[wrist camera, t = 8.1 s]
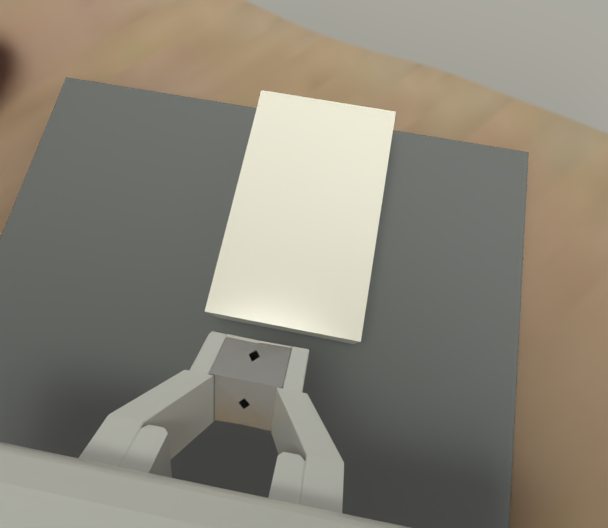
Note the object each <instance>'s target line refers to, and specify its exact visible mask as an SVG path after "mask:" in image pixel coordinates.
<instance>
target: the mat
mask: <svg viewBox="0 0 608 528" xmlns="http://www.w3.org/2000/svg"><path fill="white" fill-rule="evenodd" d="M256 109H257V108H252V107H246V106H240V105H233V104H227V103H221V102H215V101H209V100H203V99H196V98H190V97H184V96H178V95H172V94H166V93H160V92H153V91H147V90H141V89H135V88H129V87H123V86H116V85H110V84H104V83H98V82H92V81H86V80H79V79H73V78H67V77H66V79H65V82H64V84H63V87H62V89H61V91H60V94H59V96H58V99H57V101H56V104H55V106H54V109H53V111H52V113H51V116H50V118H49V121H48V123H47V126H46V128H45V131H44V133H43V135H42V138H41V140H40V143H39V145H38V148H37V150H36V153H35V155H34V157H33V160H32V162H31V165H30V167H29V170H28V172H27V175H26V177H25V179H24V182H23V184H22V187H21V189H20V192H19V194H18V197H17V199H16V201H15V204H14V206H13V209H12V211H11V214H10V216H9V219H8V221H7V223H6V226H5V228H4V231H3V233H2V236H1V238H0V442H3V443H8V444H12V445H17V446H22V447H27V448H31V449H36V450H41V451H46V452H51V453H55V454H60V455H65V456H70V457H75V458H79V457H80V455H81V454H82V452H83V451H84V449H85V448H86V447H87V445H88V444H89V442H90V441H91V439H92V438H93V436H94V435H95V433H96V432H97V431H98V429H99V428H100V426H101V425H102V423H103V422H104V420H105V419H106V417H107V416H108V415H109V414H110V413H112V412H114V411H115V410H117V409H119V408H121V407H122V406H124V405H126V404H127V403H129V402H131V401H132V400H134V399H136V398H137V397H139V396H141V395H143V394H144V393H146V392H148V391H149V390H151V389H153V388H154V387H156V386H158V385H159V384H161V383H163V382H164V381H166V380H168V379H170V378H171V377H173V376H175V375H176V374H178V373H180V372H181V371H183V370H190V368H191V366H192V365H193V363H194V361H195V359H196V357H197V355H198V353H199V351H200V349H201V348H202V346H203V344H204V342H205V340H206V338H207V336H208V334H209V333H210V332H212V331H214V332H219V333H223V334H230V335H234V336H239V337H244V338H249V339H253V340H258V341H264V342H270V343H275V344H281V345H287V346H292V347H299V348H304V349H309V356H308V362H307V368H306V374H305V380H304V386H303V393H307V394H308V396H309V398H310V400H311V401H312V403H313V405H314V407H315V409H316V411H317V413H318V415H319V416H320V418H321V420H322V422H323V424H324V426H325V428H326V430H327V431H328V433H329V435H330V437H331V439H332V441H333V443H334V445H335V447H336V448H337V450H338V452H339V454H340V456H341V458H342V460H343V462H344V480H343V504H342V513H344V514H348V515H353V516H358V517H363V518H368V519H372V520H377V521H382V522H387V523H392V524H396V525H401V526H406V527H411V528H509V517H510V498H511V479H512V460H513V441H514V422H515V402H516V383H517V364H518V345H519V326H520V306H521V287H522V268H523V249H524V230H525V210H526V191H527V172H528V153H529V152H523V151H517V150H511V149H505V148H499V147H492V146H486V145H480V144H474V143H468V142H462V141H455V140H449V139H443V138H437V137H431V136H425V135H418V134H412V133H406V132H400V131H394V130H393V134H392V140H391V147H390V153H389V160H388V167H387V173H386V180H385V186H384V193H383V199H382V206H381V212H380V219H379V226H378V232H377V239H376V245H375V252H374V258H373V265H372V271H371V278H370V285H369V291H368V298H367V304H366V311H365V317H364V324H363V330H362V337H361V342H359V343H356V344H350V343H345V342H340V341H335V340H329V339H324V338H319V337H314V336H309V335H304V334H299V333H294V332H288V331H283V330H278V329H273V328H268V327H263V326H258V325H253V324H247V323H242V322H237V321H232V320H227V319H222V318H217V317H215V316H213V315H211V314H209V313H207V312H205V308H206V304H207V300H208V296H209V292H210V288H211V284H212V281H213V277H214V273H215V269H216V265H217V261H218V257H219V253H220V249H221V246H222V242H223V238H224V234H225V230H226V226H227V222H228V218H229V214H230V211H231V207H232V203H233V199H234V195H235V191H236V187H237V183H238V179H239V176H240V172H241V168H242V164H243V160H244V156H245V152H246V148H247V144H248V141H249V137H250V133H251V129H252V125H253V121H254V117H255V113H256ZM277 457H278V452H277V449H276V446H275V443H274V440H273V437H272V433H271V431H268V430H264V429H260V428H255V427H251V426H246V425H242V424H236V423H230V422H224V421H218V420H214V422H212V423H211V424H210V425H209V426H208V427H207V428H206V429H205V430H204V431H202V432H201V433H200V434H199V435H198V436H197V437H196V438H195V439H193V440H192V441H191V442H190V443H189V444H188V445H187V446H186V447H184V448H183V449H182V450H181V451H180V452H179V453H178V454H177V455H175V456H174V457H173V458H172V459H171V460H170V461H171V472H172V478H175V479H180V480H185V481H190V482H194V483H199V484H204V485H209V486H214V487H218V488H223V489H228V490H233V491H238V492H242V493H247V494H252V495H257V496H262V497H267V498H268V497H269V493H270V488H271V484H272V479H273V475H274V470H275V466H276V461H277Z"/></svg>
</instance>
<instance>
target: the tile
mask: <svg viewBox="0 0 608 528" xmlns="http://www.w3.org/2000/svg"><path fill="white" fill-rule="evenodd" d="M395 114H396V112H394V111H388V110H382V109H376V108H369V107H363V106H357V105H350V104H344V103H338V102H332V101H325V100H319V99H313V98H306V97H300V96H294V95H288V94H281V93H275V92H269V91H263V90H261V94H260V98H259V102H258V105H257V109H256V113H255V117H254V121H253V125H252V129H251V133H250V137H249V141H248V144H247V148H246V152H245V156H244V160H243V164H242V168H241V172H240V176H239V179H238V183H237V187H236V191H235V195H234V199H233V203H232V207H231V211H230V214H229V218H228V222H227V226H226V230H225V234H224V238H223V242H222V246H221V249H220V253H219V257H218V261H217V265H216V269H215V273H214V277H213V281H212V284H211V288H210V292H209V296H208V300H207V304H206V308H205V312H207V313H209V314H211V315H213V316H215V317H217V318H222V319H227V320H232V321H237V322H242V323H247V324H253V325H258V326H263V327H268V328H273V329H278V330H283V331H288V332H294V333H299V334H304V335H309V336H314V337H319V338H324V339H329V340H335V341H340V342H345V343H350V344H356V343H359V342H361V337H362V330H363V324H364V317H365V311H366V304H367V298H368V291H369V285H370V278H371V271H372V265H373V258H374V252H375V245H376V239H377V232H378V226H379V219H380V212H381V206H382V199H383V193H384V186H385V180H386V173H387V167H388V160H389V153H390V147H391V140H392V134H393V127H394V121H395Z"/></svg>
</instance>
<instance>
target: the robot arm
mask: <svg viewBox="0 0 608 528" xmlns="http://www.w3.org/2000/svg"><path fill="white" fill-rule="evenodd" d="M308 356H309V349H304V348H299V347H292V346H287V345H281V344H275V343H270V342H264V341H258V340H253V339H249V338H244V337H239V336H234V335H230V334H223V333H219V332H214V331H212V332H210V333H209V334H208V336H207V338H206V340H205V342H204V344H203V346H202V348H201V349H200V351H199V353H198V355H197V357H196V359H195V361H194V363H193V365H192V366H191V368H190V370H183V371H181V372H180V373H178V374H176V375H175V376H173V377H171V378H170V379H168V380H166V381H164V382H163V383H161V384H159V385H158V386H156V387H154V388H153V389H151V390H149V391H148V392H146V393H144V394H143V395H141V396H139V397H137V398H136V399H134V400H132V401H131V402H129V403H127V404H126V405H124V406H122V407H121V408H119V409H117V410H115V411H114V412H112V413H110V414H109V415H108V416H107V417H106V419H105V420H104V422H103V423H102V425H101V426H100V428H99V429H98V431H97V432H96V433H95V435H94V436H93V438H92V439H91V441H90V442H89V444H88V445H87V447H86V448H85V449H84V451H83V452H82V454H81V455H80V457H79V458H75V457H70V456H65V455H60V454H55V453H51V452H46V451H41V450H36V449H31V448H27V447H22V446H17V445H12V444H8V443H3V442H0V528H411V527H406V526H401V525H396V524H392V523H387V522H382V521H377V520H372V519H368V518H363V517H358V516H353V515H348V514H344V513H342V504H343V480H344V462H343V460H342V458H341V456H340V454H339V452H338V450H337V448H336V447H335V445H334V443H333V441H332V439H331V437H330V435H329V433H328V431H327V430H326V428H325V426H324V424H323V422H322V420H321V418H320V416H319V415H318V413H317V411H316V409H315V407H314V405H313V403H312V401H311V400H310V398H309V396H308V394H307V393H303V386H304V380H305V374H306V368H307V362H308ZM214 420H218V421H224V422H230V423H236V424H242V425H246V426H251V427H255V428H260V429H264V430H268V431H271V433H272V437H273V440H274V443H275V446H276V449H277V452H278V457H277V461H276V466H275V470H274V475H273V479H272V484H271V488H270V493H269V497H268V498H267V497H262V496H257V495H252V494H247V493H242V492H238V491H233V490H228V489H223V488H218V487H214V486H209V485H204V484H199V483H194V482H190V481H185V480H180V479H175V478H172V472H171V461H170V460H171V459H172V458H173V457H174V456H175V455H177V454H178V453H179V452H180V451H181V450H182V449H183V448H184V447H186V446H187V445H188V444H189V443H190V442H191V441H192V440H193V439H195V438H196V437H197V436H198V435H199V434H200V433H201V432H202V431H204V430H205V429H206V428H207V427H208V426H209V425H210V424H211V423H212V422H214Z"/></svg>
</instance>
